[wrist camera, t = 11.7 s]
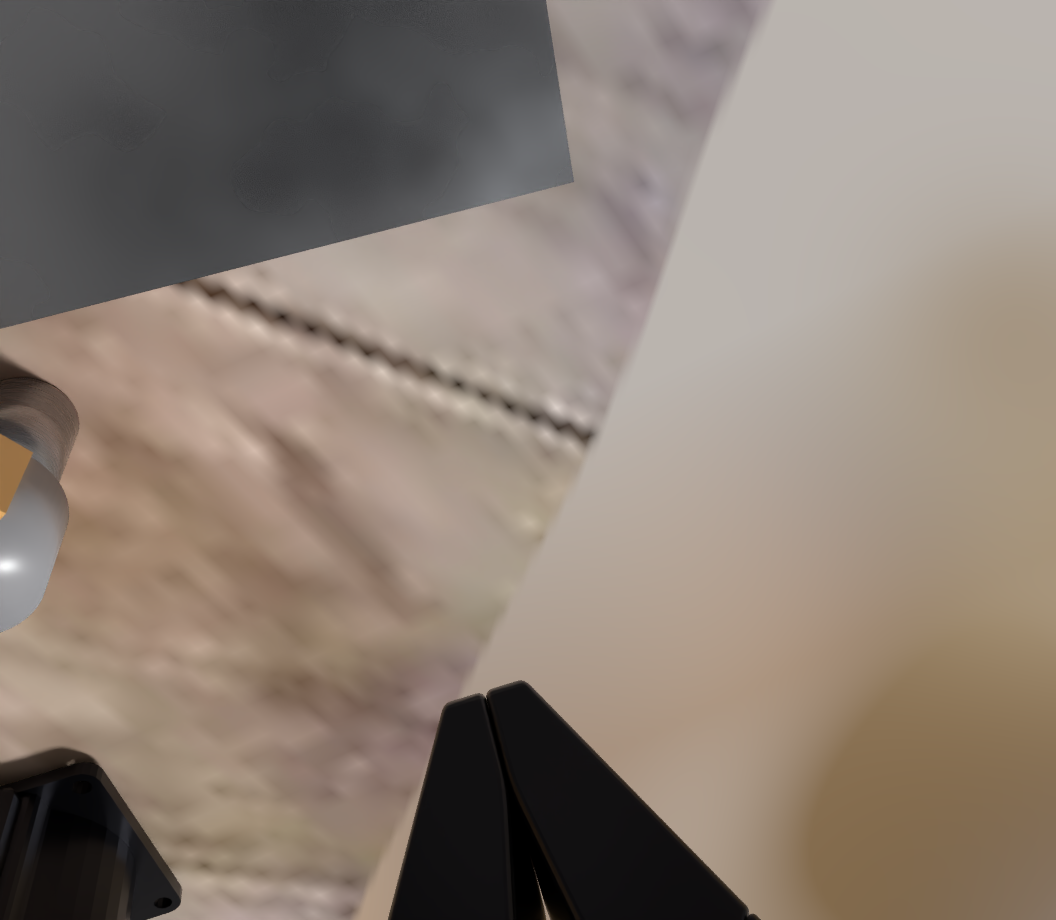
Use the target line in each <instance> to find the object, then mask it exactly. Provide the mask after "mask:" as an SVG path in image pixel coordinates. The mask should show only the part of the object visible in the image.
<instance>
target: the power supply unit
mask: <svg viewBox="0 0 1056 920" xmlns="http://www.w3.org/2000/svg"><path fill="white" fill-rule="evenodd" d="M571 182H574V179H573V173H572V166H571V160H570V153H569V147H568V141H567V134H566V128H565V121H564V115H563V108H562V102H561V95H560V89H559V82H558V76H557V69H556V63H555V57H554V50H553V44H552V37H551V31H550V24H549V18H548V11H547V5H546V0H0V329H1V328H5V327H9V326H13V325H16V324H20V323H24V322H28V321H32V320H36V319H40V318H44V317H48V316H52V315H56V314H59V313H63V312H67V311H71V310H75V309H79V308H83V307H87V306H91V305H95V304H99V303H102V302H106V301H110V300H114V299H118V298H122V297H126V296H130V295H134V294H138V293H142V292H145V291H149V290H153V289H157V288H161V287H165V286H169V285H173V284H177V283H181V282H185V281H188V280H192V279H196V278H200V277H204V276H208V275H212V274H216V273H220V272H224V271H228V270H231V269H235V268H239V267H243V266H247V265H251V264H255V263H259V262H263V261H267V260H271V259H274V258H278V257H282V256H286V255H290V254H294V253H298V252H302V251H306V250H310V249H314V248H317V247H321V246H325V245H329V244H333V243H337V242H341V241H345V240H349V239H353V238H357V237H360V236H364V235H368V234H372V233H376V232H380V231H384V230H388V229H392V228H396V227H400V226H403V225H407V224H411V223H415V222H419V221H423V220H427V219H431V218H435V217H439V216H442V215H446V214H450V213H454V212H458V211H462V210H466V209H470V208H474V207H478V206H482V205H485V204H489V203H493V202H497V201H501V200H505V199H509V198H513V197H517V196H521V195H525V194H528V193H532V192H536V191H540V190H544V189H548V188H552V187H556V186H560V185H564V184H568V183H571ZM78 431H79V417H78V414H77V411H76V409H75V407H74V405H73V404H72V402H71V401H70V400H69V398H68V397H67V396H66V395H65V394H64V393H62V392H61V391H60V390H59V389H57V388H55V387H54V386H52V385H50V384H48V383H45V382H42V381H40V380H35V379H30V378H12V379H7V380H3V381H0V434H2V435H3V436H5V437H7V438H9V439H10V440H12V441H14V442H16V443H17V444H19V445H21V446H23V447H24V448H26V449H28V450H30V451H31V452H33V454H32V456H31V457H32V458H33V459H35V460H36V461H38V462H39V463H41V464H42V465H43V466H44V467H46V468H47V469H48V470H49V471H50V472H51V473H52V474H53V475H54V476H55V478H56V479H57V480H58V482H60V479H61V476H62V474H63V471H64V469H65V466H66V463H67V461H68V458H69V455H70V453H71V450H72V448H73V445H74V442H75V440H76V437H77V434H78Z"/></svg>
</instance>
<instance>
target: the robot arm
mask: <svg viewBox="0 0 1056 920" xmlns="http://www.w3.org/2000/svg"><path fill="white" fill-rule="evenodd" d="M486 698H487V700H486ZM486 698H485V697H484V696H483V694H480V693H478V694H474V695H470V696H467V697H464V698H461V699H457V700H454V701H451V702H449V703H447V704H446V705H445V706H444V708H443V710H442V713H441V717H440V721H439V725H438V728H437V732H436V736H435V740H434V744H433V748H432V752H431V755H430V759H429V763H428V767H427V771H426V775H425V779H424V782H423V786H422V790H421V794H420V798H419V802H418V805H417V809H416V813H415V817H414V821H413V825H412V829H411V833H410V836H409V840H408V844H407V848H406V852H405V856H404V859H403V863H402V867H401V871H400V875H399V879H398V883H397V886H396V890H395V894H394V898H393V902H392V906H391V910H390V913H389V917H388V920H546V915H545V910H544V905H543V901H542V898H541V893H542V896H543V899H544V902H545V906H546V909H547V911H548V914H549V917H550V920H761V919H759V918H758V916H757V915H755V914H750V915H749V910H748V907H747V906H746V905H745V904H744V903H743V902H742V901H741V900H740V899H739V898H738V897H737V896H736V895H735V894H734V893H733V892H732V891H731V889H729V888H728V887H727V885H726V884H725V883H724V882H723V881H722V880H721V879H720V878H719V877H718V876H717V875H716V874H715V873H714V872H713V871H712V870H711V869H710V868H709V867H708V866H707V865H706V864H705V863H704V862H703V861H702V860H701V859H700V858H699V857H698V856H697V855H696V854H695V853H694V852H693V851H692V850H691V849H690V848H689V847H688V846H687V845H686V844H685V843H684V842H683V841H682V840H681V839H680V837H678V835H677V834H675V832H674V831H672V829H671V828H670V827H669V826H668V825H666V823H665V822H664V821H663V820H662V819H661V818H660V817H659V816H658V815H657V814H656V813H655V812H654V811H653V810H652V809H651V808H650V807H649V806H648V805H647V804H646V803H645V802H644V801H643V800H642V799H641V798H640V797H639V796H638V795H637V794H636V793H635V792H634V791H633V790H632V789H631V788H630V787H629V786H628V784H627V783H626V782H625V781H624V780H623V779H622V778H620V776H619V775H618V774H617V773H616V772H615V771H614V770H613V769H612V768H611V767H610V766H609V765H608V764H607V763H606V762H605V761H604V760H603V759H602V758H601V757H600V756H599V755H598V754H597V753H596V752H595V751H594V750H593V749H592V748H591V747H590V746H589V745H588V744H587V743H586V742H585V741H584V740H583V739H582V738H581V737H580V736H579V735H578V733H576V731H575V730H574V729H573V728H572V727H571V726H570V725H569V724H568V723H567V722H566V721H565V720H564V719H563V718H562V717H561V716H560V715H559V714H558V713H557V712H556V711H555V710H554V709H553V708H552V707H551V706H550V705H549V704H548V703H547V702H546V701H545V700H544V699H543V698H542V697H541V696H540V695H539V694H538V693H537V692H536V691H535V690H534V689H533V688H532V687H531V686H530V685H529V684H528V683H526V682H525V681H522V680H520V681H516V682H513V683H509V684H506V685H503V686H500V687H497V688H493V689H491V690H489V691H488V693H487V695H486ZM80 781H88V782H80ZM535 873H536V874H535ZM536 876H537V877H536ZM537 880H538V881H537ZM538 882H539V885H538ZM539 886H540V889H541V893H540V889H539ZM181 895H182V888H181V885H180V884H179V882H178V881H177V879H176V878H175V876H174V875H173V873H172V872H171V870H170V869H169V867H168V866H167V864H166V863H165V861H164V860H163V858H162V857H161V855H160V854H159V852H158V851H157V850H156V848H155V847H154V845H153V844H152V842H151V841H150V839H149V838H148V836H147V835H146V833H145V832H144V830H143V829H142V827H141V826H140V824H139V823H138V821H137V820H136V818H135V817H134V815H133V814H132V812H131V811H130V809H129V808H128V806H127V805H126V803H125V802H124V800H123V799H122V797H121V796H120V794H119V793H118V791H117V790H116V788H115V787H114V785H113V784H112V782H111V781H110V779H109V778H108V776H107V775H106V773H105V772H104V771H103V769H102V768H100V767H99V766H98V765H95V764H93V763H85V762H84V763H77V764H74V765H70V766H67V767H64V768H60V769H57V770H54V771H51V772H47V773H44V774H41V775H37V776H34V777H31V778H28V779H24V780H21V781H18V782H14V783H11V784H8V785H5V786H1V787H0V920H147V919H150V918H153V917H156V916H159V915H162V914H166V913H169V912H171V911H173V910H175V909H176V908H177V907H179V905H180V903H181Z"/></svg>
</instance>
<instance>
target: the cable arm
mask: <svg viewBox="0 0 1056 920" xmlns="http://www.w3.org/2000/svg"><path fill="white" fill-rule="evenodd" d="M32 454H33V452H31V451H30V450H28V449H26V448H24V447H23V446H21V445H19V444H17V443H16V442H14V441H12V440H10V439H9V438H7V437H5V436H3V435H2V434H0V632H3V631H5V630H8V629H10V628H12V627H14V626H16V625H18V624H19V623H21V622H22V621H23V620H25V619H26V618H27V617H28V616H29V615H30V614H31V613H33V611H34V610H35V609H36V608H37V606H38V605H39V603H40V602H41V600H42V598H43V595H44V592H45V590H46V587H47V584H48V581H49V578H50V575H51V572H52V569H53V566H54V563H55V560H56V557H57V554H58V551H59V549H60V546H61V543H62V540H63V537H64V534H65V531H66V528H67V525H68V520H69V506H68V501H67V498H66V495H65V492H64V490H63V488H62V487H61V485H60V483H59V482H58V480H57V479H56V478H55V476H54V475H53V474H52V473H51V472H50V471H49V470H48V469H47V468H46V467H44V466H43V465H42V464H41V463H39V462H38V461H36V460H35V459H33V458H32V457H31V456H32Z"/></svg>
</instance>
